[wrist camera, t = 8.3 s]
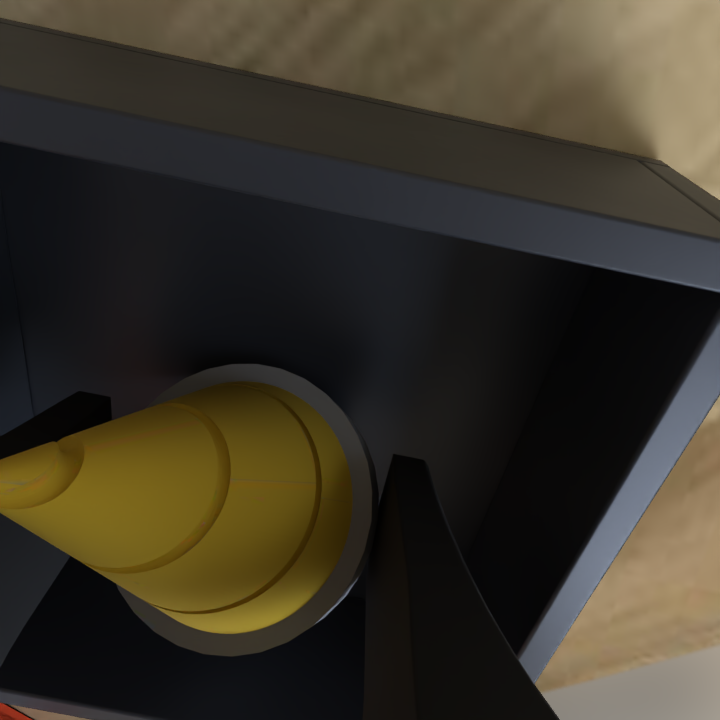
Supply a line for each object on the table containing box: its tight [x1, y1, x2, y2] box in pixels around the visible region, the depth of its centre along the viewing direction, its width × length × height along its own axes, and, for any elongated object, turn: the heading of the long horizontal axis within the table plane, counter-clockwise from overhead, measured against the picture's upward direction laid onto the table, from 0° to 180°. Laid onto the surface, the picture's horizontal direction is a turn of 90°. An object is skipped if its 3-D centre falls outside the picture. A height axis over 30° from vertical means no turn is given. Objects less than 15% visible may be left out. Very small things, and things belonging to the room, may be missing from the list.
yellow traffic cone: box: [0, 364, 379, 657], centre depth 10 cm, size 5×5×10 cm
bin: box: [0, 18, 720, 720], centre depth 12 cm, size 12×13×4 cm
